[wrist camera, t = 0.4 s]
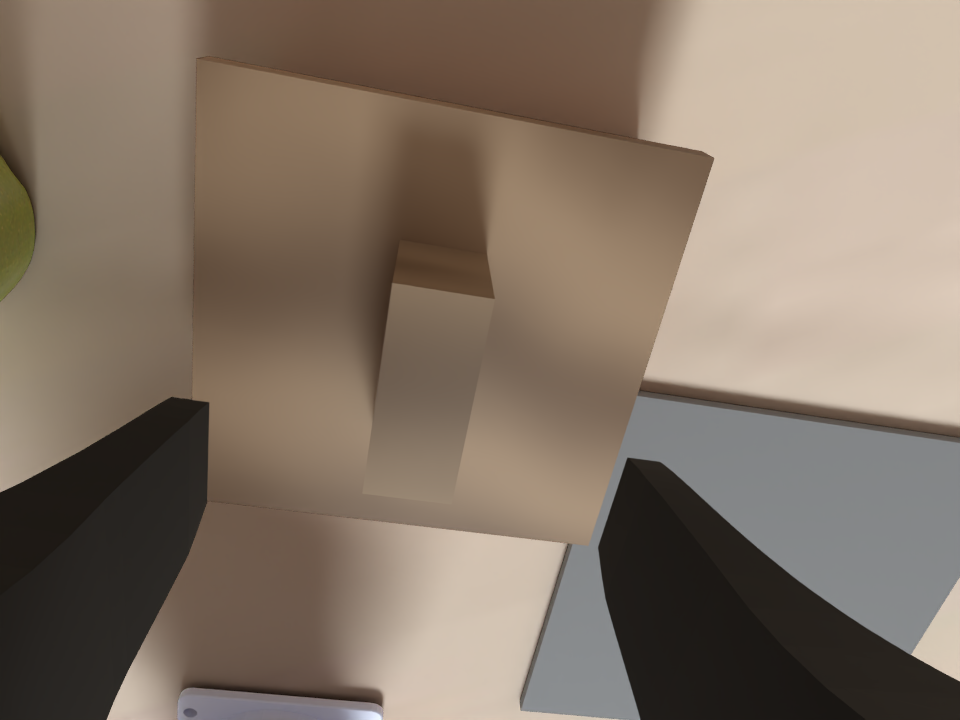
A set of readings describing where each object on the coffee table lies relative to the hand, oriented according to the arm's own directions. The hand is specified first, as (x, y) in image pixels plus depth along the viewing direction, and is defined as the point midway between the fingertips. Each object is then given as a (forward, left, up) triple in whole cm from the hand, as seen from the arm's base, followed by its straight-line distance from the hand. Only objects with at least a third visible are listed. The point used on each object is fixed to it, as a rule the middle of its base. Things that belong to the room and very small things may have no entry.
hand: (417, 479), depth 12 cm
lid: (0, 0, -6) cm, 6 cm away
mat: (-10, -14, -10) cm, 20 cm away
